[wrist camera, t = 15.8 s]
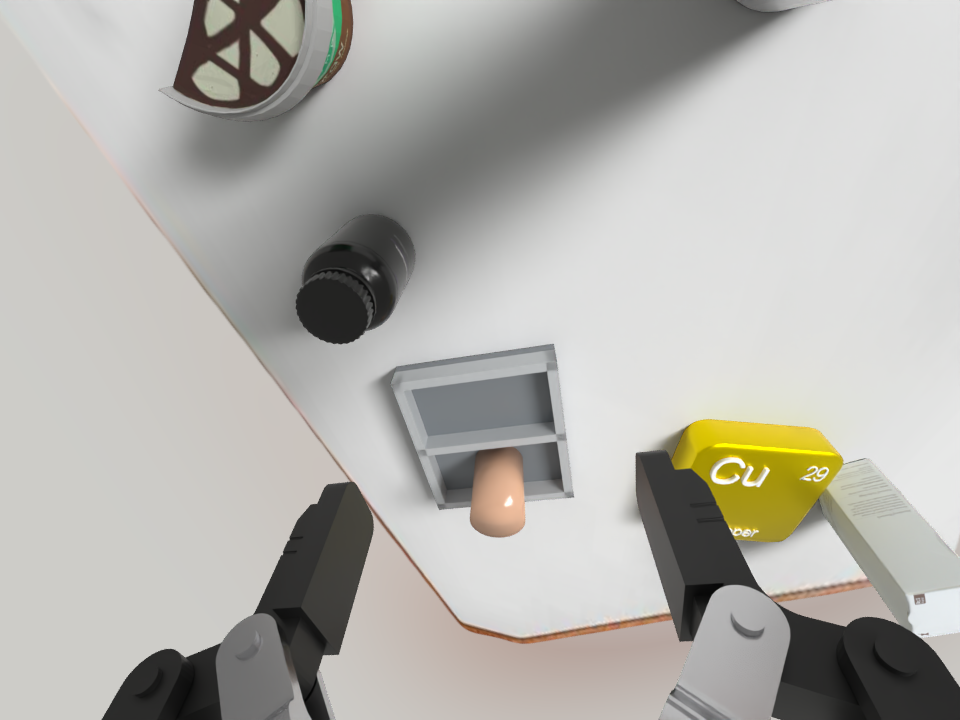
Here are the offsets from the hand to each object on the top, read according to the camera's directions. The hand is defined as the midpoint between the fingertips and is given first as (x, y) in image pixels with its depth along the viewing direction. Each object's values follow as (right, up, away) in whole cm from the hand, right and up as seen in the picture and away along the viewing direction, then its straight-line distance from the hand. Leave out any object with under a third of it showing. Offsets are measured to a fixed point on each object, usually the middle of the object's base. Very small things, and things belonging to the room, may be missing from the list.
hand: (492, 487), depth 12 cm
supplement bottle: (-9, +13, +26) cm, 30 cm away
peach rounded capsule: (+2, -8, +38) cm, 38 cm away
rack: (+1, -4, +36) cm, 36 cm away
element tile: (+29, -9, +39) cm, 49 cm away
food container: (-11, +26, +18) cm, 33 cm away
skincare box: (+42, -11, +39) cm, 58 cm away
